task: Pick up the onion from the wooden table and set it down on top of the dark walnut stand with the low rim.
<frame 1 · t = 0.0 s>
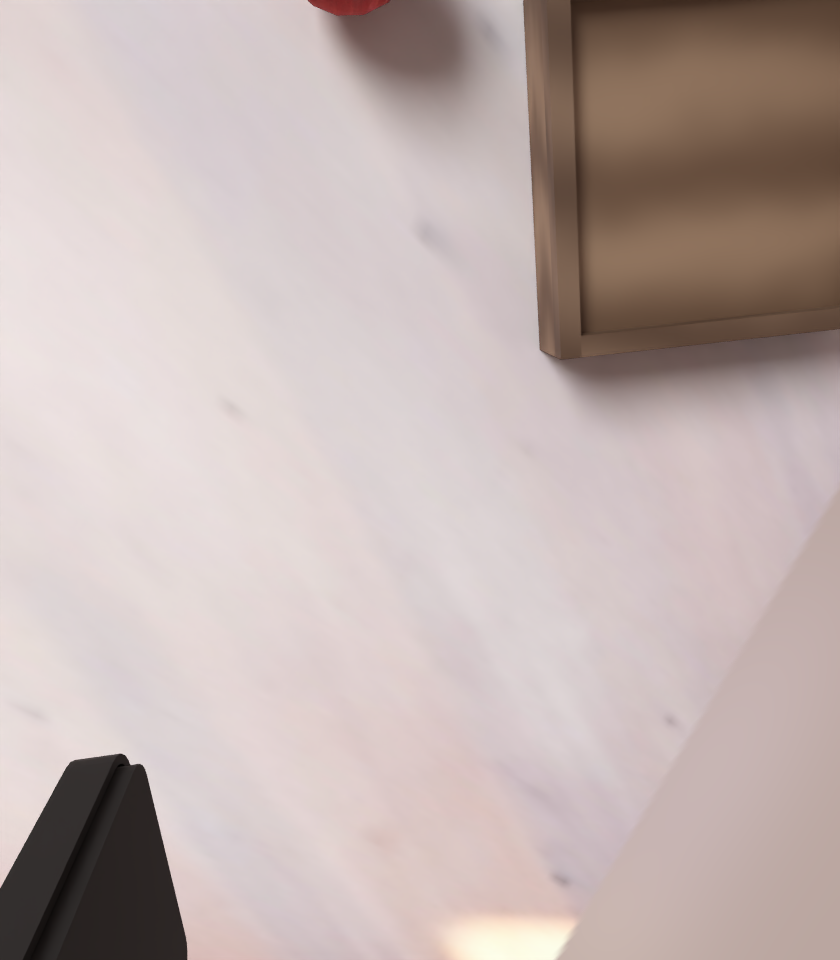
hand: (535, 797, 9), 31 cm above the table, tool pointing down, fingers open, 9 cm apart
walnut stand: (689, 171, 37), on the table
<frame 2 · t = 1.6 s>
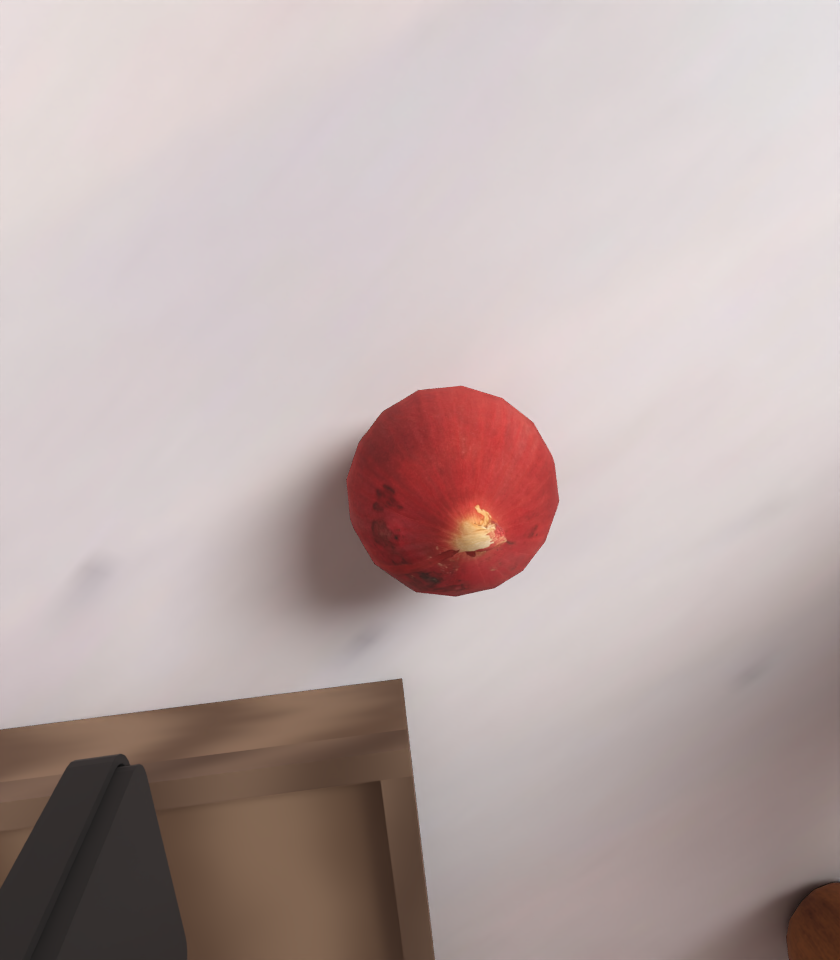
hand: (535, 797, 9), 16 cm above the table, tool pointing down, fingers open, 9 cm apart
onion: (437, 455, 25), on the table
walnut stand: (216, 887, 29), on the table
wooden figurine: (832, 913, 32), on the table
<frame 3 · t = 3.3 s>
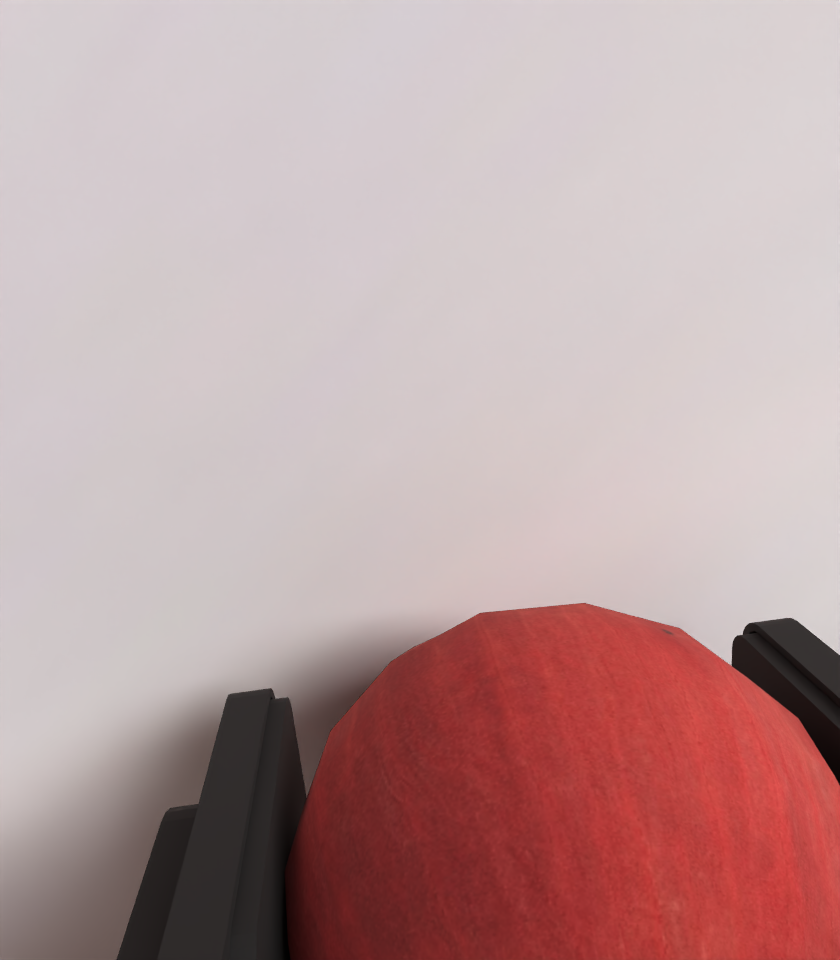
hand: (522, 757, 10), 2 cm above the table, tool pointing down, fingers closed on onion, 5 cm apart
onion: (495, 684, 12), on the table, touching gripper
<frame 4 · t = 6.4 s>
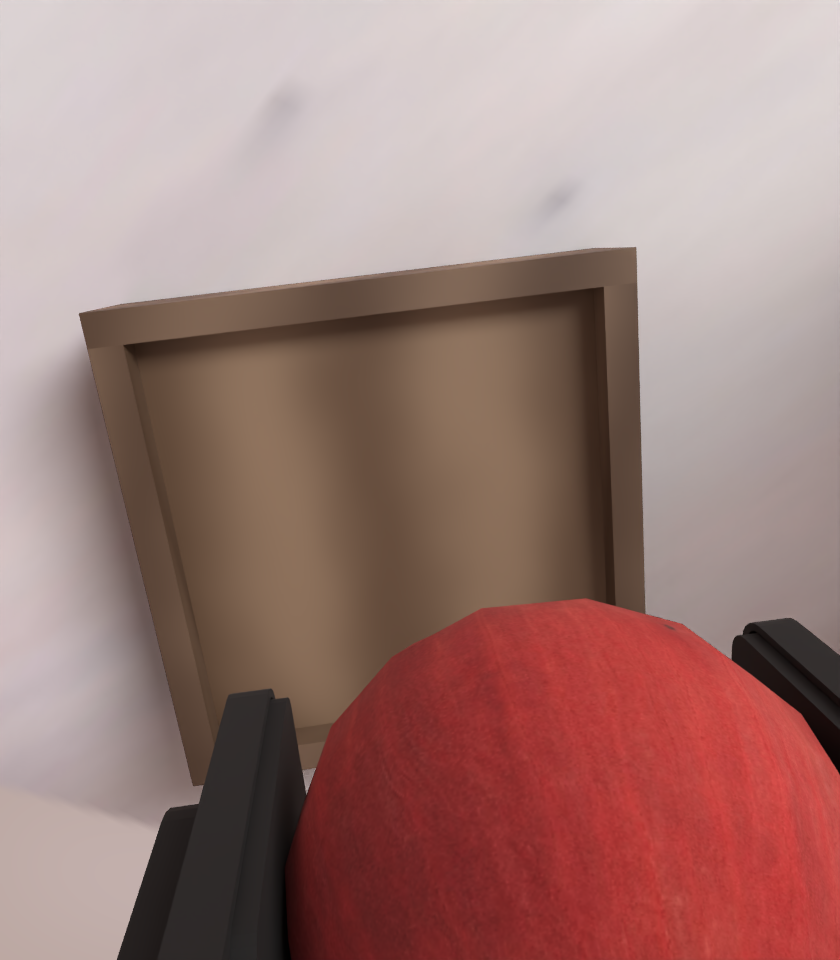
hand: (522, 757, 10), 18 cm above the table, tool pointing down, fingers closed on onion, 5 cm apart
onion: (496, 681, 12), point 16 cm above the table, touching gripper
walnut stand: (390, 499, 28), on the table
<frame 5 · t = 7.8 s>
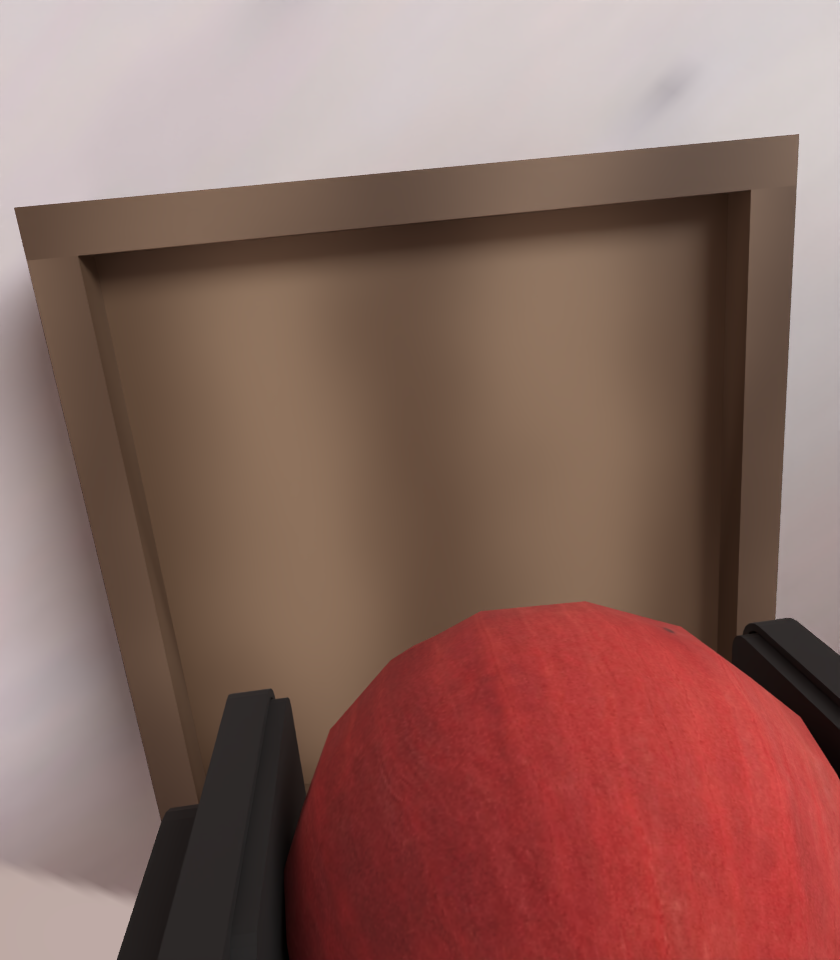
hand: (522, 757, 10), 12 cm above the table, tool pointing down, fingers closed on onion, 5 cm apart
onion: (495, 683, 12), point 10 cm above the table, touching gripper
walnut stand: (433, 486, 21), on the table
when the fingers open (6 cm above the table, at t = 9.3 s): onion drops 1 cm, resting on walnut stand.
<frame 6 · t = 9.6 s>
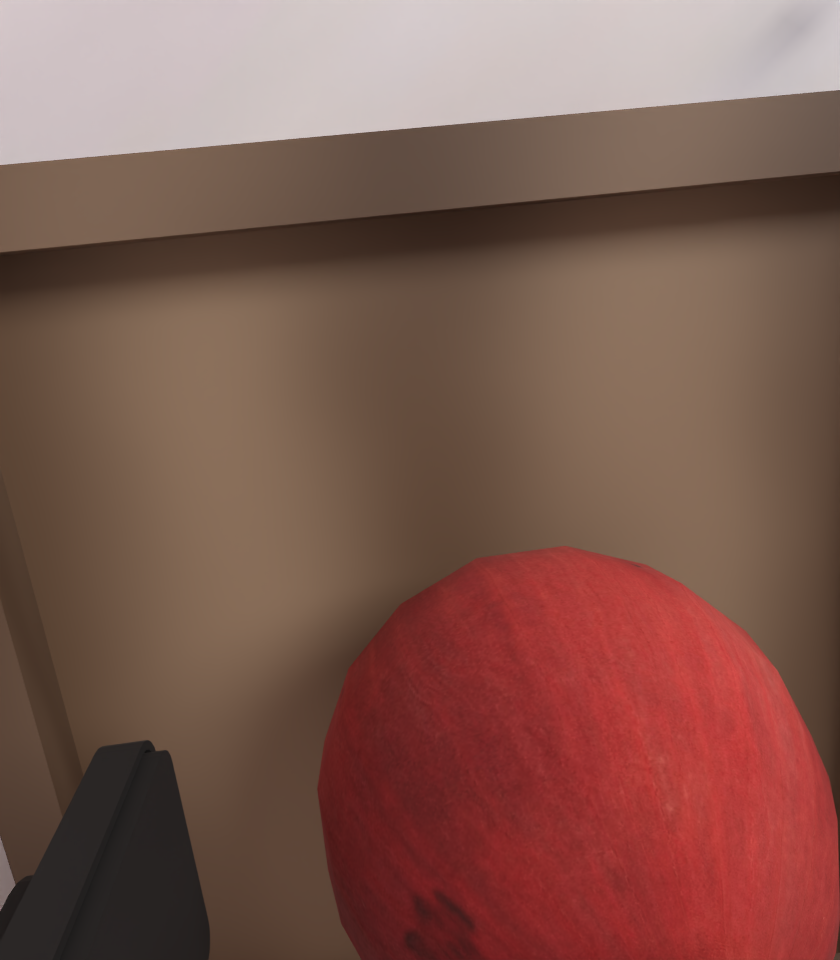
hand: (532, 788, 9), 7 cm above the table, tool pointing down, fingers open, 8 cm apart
onion: (478, 637, 13), point 3 cm above the table, touching walnut stand
walnut stand: (456, 574, 16), on the table
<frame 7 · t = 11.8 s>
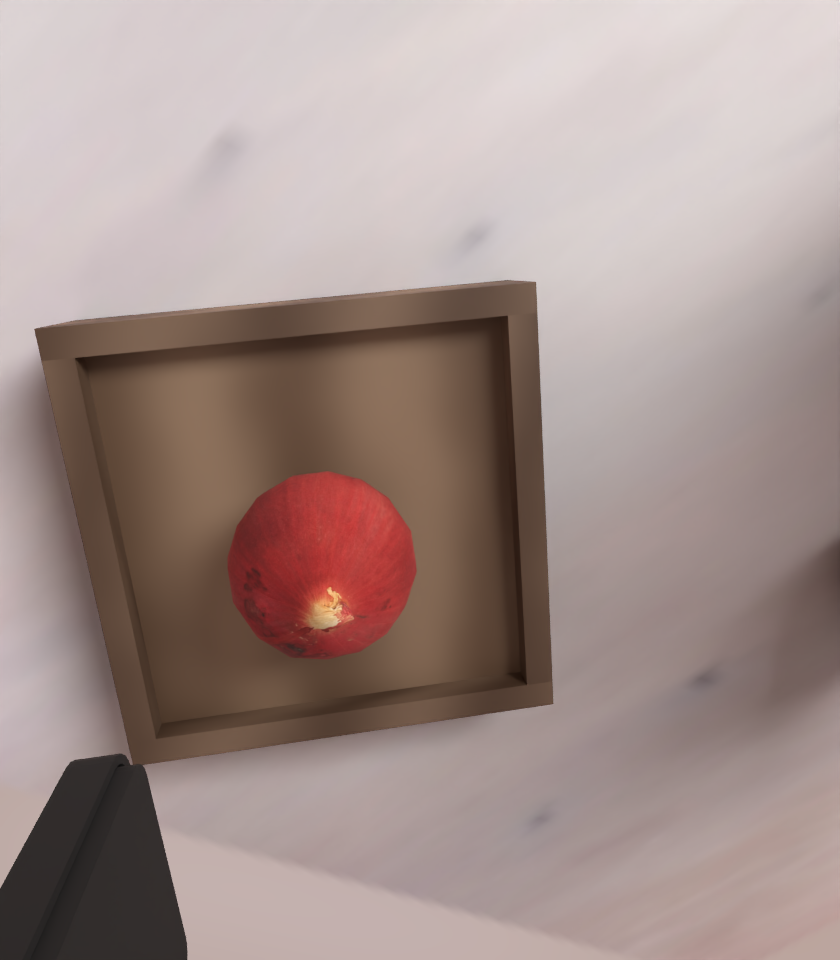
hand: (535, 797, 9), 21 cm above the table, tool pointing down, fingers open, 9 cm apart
onion: (322, 524, 27), point 3 cm above the table, touching walnut stand
walnut stand: (323, 503, 30), on the table
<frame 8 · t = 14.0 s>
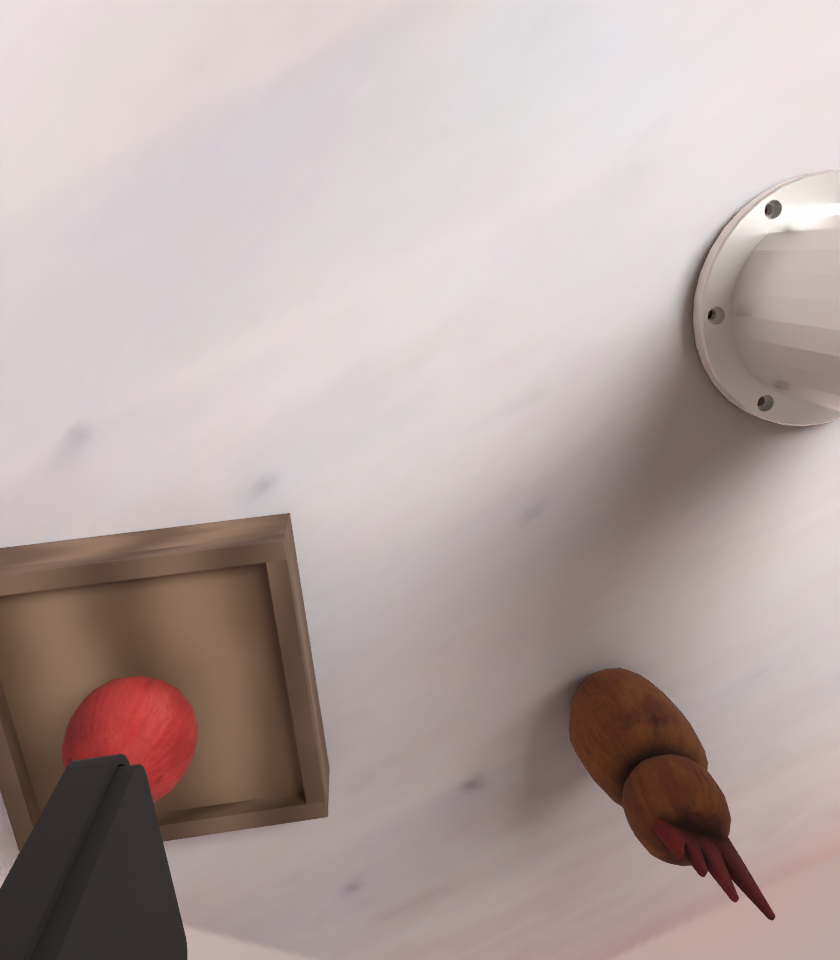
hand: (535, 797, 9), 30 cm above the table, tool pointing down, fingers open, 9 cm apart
onion: (152, 694, 39), point 3 cm above the table, touching walnut stand
walnut stand: (165, 667, 41), on the table
wooden figurine: (608, 697, 45), on the table
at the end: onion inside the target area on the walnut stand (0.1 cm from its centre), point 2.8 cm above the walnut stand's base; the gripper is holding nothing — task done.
